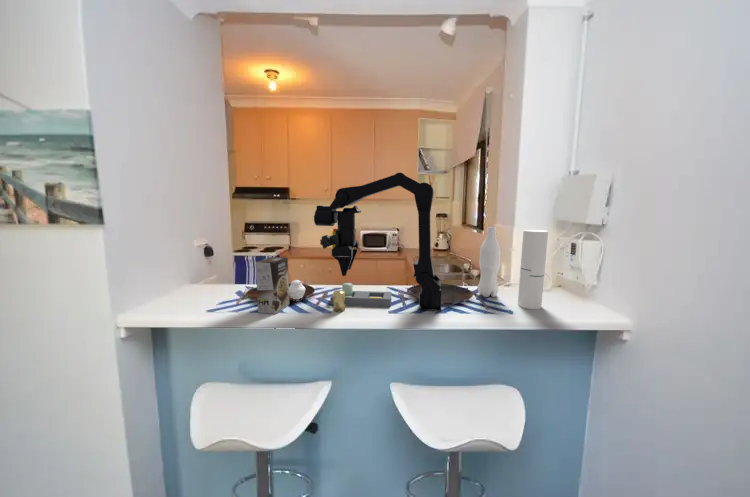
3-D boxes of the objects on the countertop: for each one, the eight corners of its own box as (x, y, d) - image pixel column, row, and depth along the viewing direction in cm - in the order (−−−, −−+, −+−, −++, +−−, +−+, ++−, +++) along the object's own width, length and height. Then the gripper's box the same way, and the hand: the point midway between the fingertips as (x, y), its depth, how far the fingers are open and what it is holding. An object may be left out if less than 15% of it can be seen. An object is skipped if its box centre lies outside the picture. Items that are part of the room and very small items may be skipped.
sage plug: (343, 299, 112) (343, 282, 111) (353, 299, 112) (353, 283, 111) (341, 302, 108) (341, 285, 107) (351, 303, 108) (351, 285, 107)
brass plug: (345, 308, 103) (345, 290, 102) (343, 312, 99) (343, 293, 98) (335, 308, 103) (334, 290, 102) (332, 311, 100) (332, 293, 99)
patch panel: (391, 298, 113) (391, 291, 112) (390, 306, 105) (390, 298, 104) (335, 297, 114) (335, 289, 114) (330, 304, 106) (330, 296, 106)
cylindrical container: (522, 300, 112) (528, 229, 108) (544, 305, 107) (551, 230, 103) (514, 305, 107) (519, 230, 103) (536, 310, 102) (543, 232, 98)
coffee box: (276, 314, 97) (274, 262, 95) (257, 312, 99) (254, 261, 96) (290, 304, 106) (288, 256, 104) (272, 303, 107) (270, 256, 105)
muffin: (292, 295, 116) (291, 277, 114) (308, 297, 114) (307, 278, 113) (284, 301, 110) (283, 281, 108) (301, 302, 108) (300, 282, 107)
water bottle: (499, 294, 118) (504, 227, 114) (495, 299, 112) (500, 228, 108) (480, 291, 122) (484, 226, 118) (474, 296, 116) (478, 227, 112)
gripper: (328, 223, 116) (329, 266, 118) (314, 229, 97) (315, 278, 100) (359, 224, 115) (359, 266, 117) (351, 229, 96) (351, 279, 99)
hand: (346, 272), depth 108 cm, fingers open, 9 cm apart
